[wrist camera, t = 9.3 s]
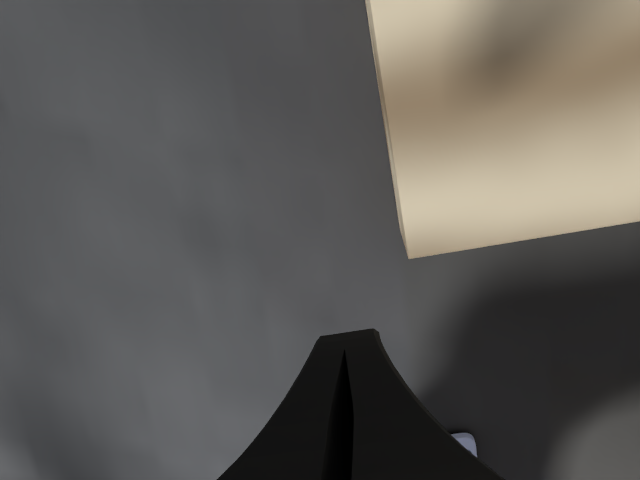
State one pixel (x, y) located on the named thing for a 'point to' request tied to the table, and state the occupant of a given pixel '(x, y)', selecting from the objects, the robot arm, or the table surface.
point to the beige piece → (508, 117)
